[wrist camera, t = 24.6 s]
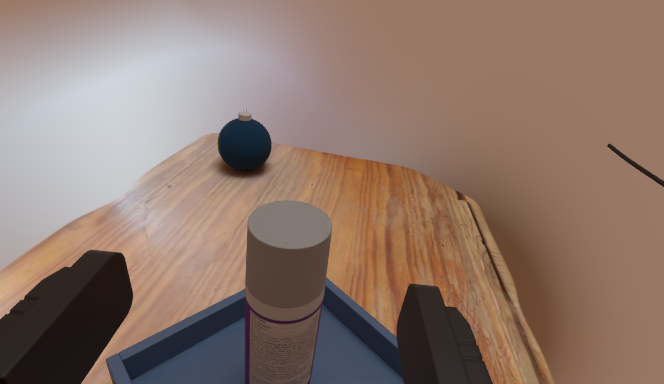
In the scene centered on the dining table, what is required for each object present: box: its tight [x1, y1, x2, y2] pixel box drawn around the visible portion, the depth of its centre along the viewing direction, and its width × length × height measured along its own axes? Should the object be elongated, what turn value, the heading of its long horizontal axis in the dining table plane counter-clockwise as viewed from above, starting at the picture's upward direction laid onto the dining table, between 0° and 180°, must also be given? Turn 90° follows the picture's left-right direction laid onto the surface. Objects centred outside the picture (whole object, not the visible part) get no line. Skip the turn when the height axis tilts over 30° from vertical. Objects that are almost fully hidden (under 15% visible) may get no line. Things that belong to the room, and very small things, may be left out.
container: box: [245, 201, 332, 384], centre depth 22 cm, size 5×5×15 cm
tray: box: [106, 278, 404, 384], centre depth 25 cm, size 18×16×3 cm
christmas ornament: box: [218, 112, 271, 170], centre depth 55 cm, size 8×8×10 cm
